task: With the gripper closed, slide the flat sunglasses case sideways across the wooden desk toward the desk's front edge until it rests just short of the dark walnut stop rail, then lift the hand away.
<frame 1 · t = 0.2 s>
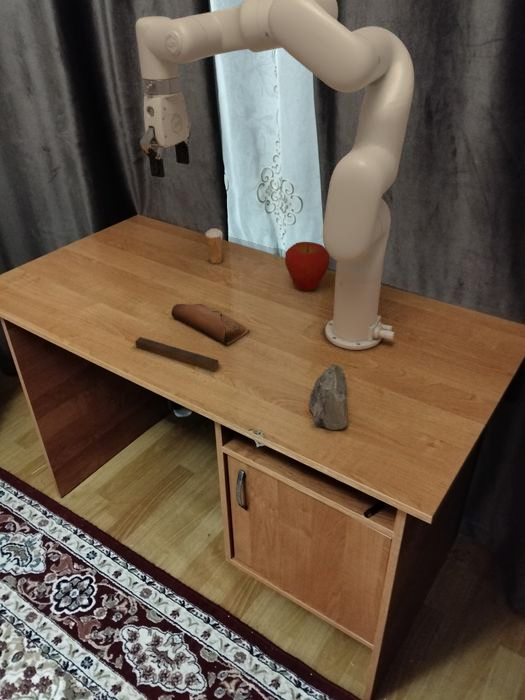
hand: (171, 169, 128), 31 cm above the table, tool pointing down, fingers open, 9 cm apart
beer glass: (214, 261, 159), on the table
apple: (306, 288, 146), on the table
stop rail: (176, 357, 123), on the table
mineral rock: (333, 408, 109), on the table
sunglasses case: (210, 326, 133), on the table
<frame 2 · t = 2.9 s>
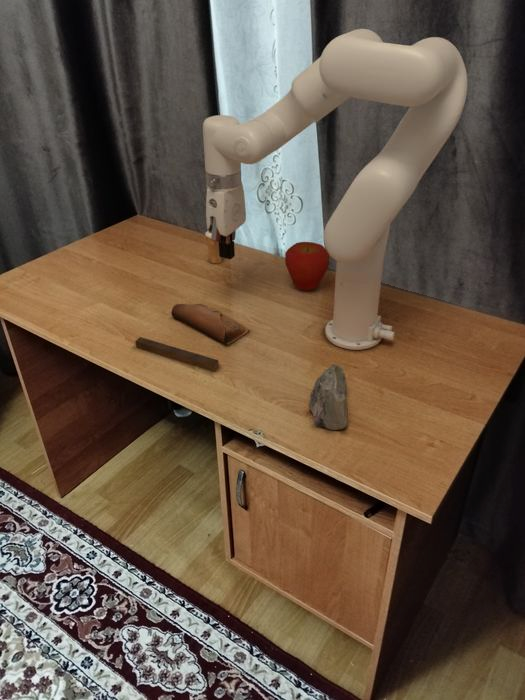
hand: (227, 256, 133), 13 cm above the table, tool pointing down, fingers closed
nothing on the table moved.
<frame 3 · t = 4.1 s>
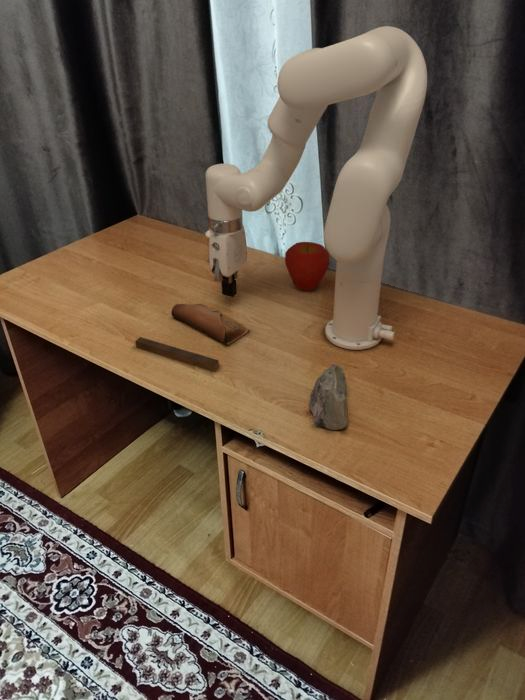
hand: (229, 294, 138), 3 cm above the table, tool pointing down, fingers closed
nothing on the table moved.
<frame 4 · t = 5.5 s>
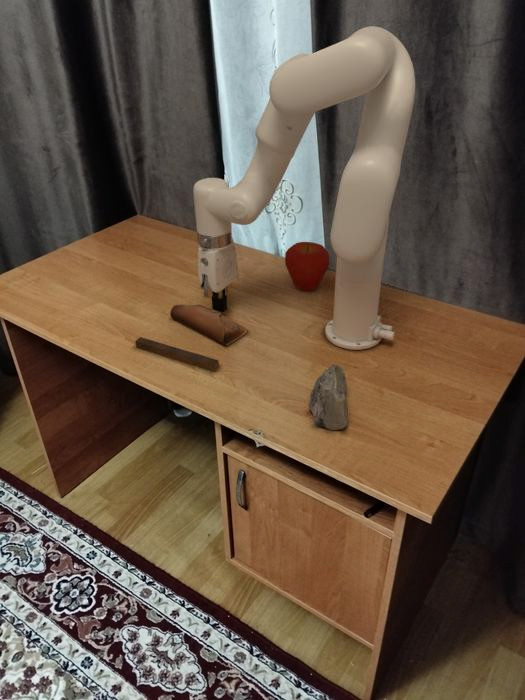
hand: (220, 309, 135), 2 cm above the table, tool pointing down, fingers closed
sunglasses case: (209, 326, 133), on the table, touching gripper
everything else where it was.
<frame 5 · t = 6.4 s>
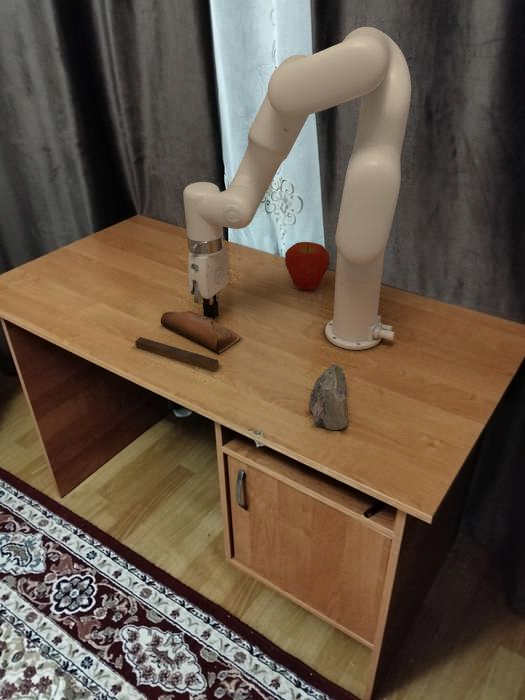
hand: (211, 315, 133), 2 cm above the table, tool pointing down, fingers closed
sunglasses case: (200, 333, 130), on the table, touching gripper
everything else where it was.
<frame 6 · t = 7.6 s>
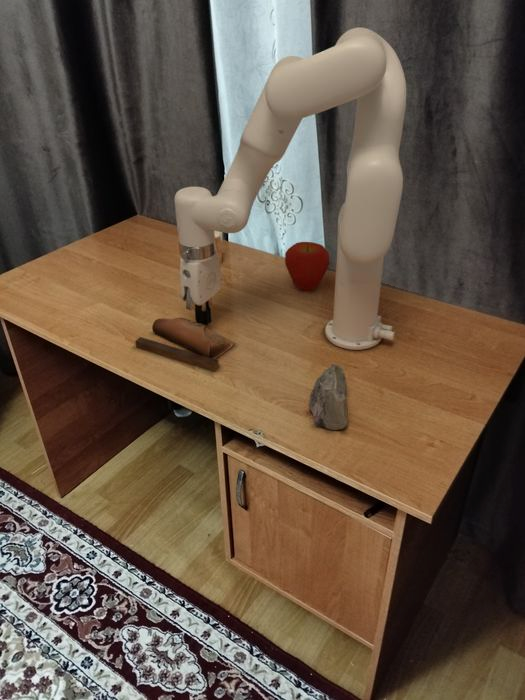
hand: (203, 322, 130), 2 cm above the table, tool pointing down, fingers closed
sunglasses case: (193, 340, 128), on the table, touching gripper
everything else where it was.
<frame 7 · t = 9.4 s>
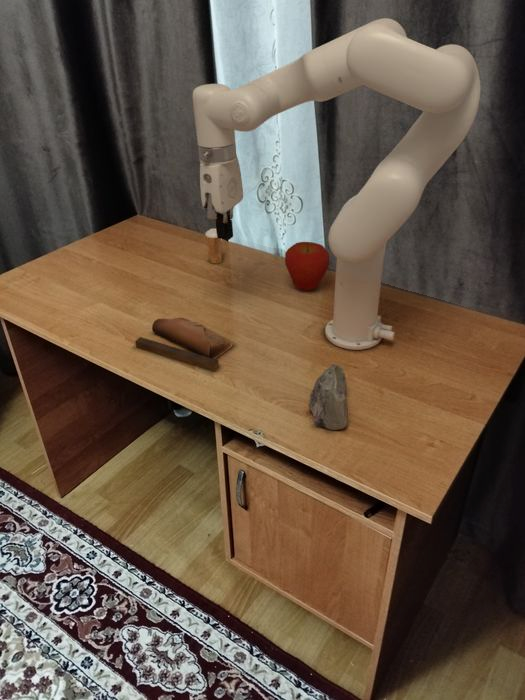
hand: (225, 237, 126), 19 cm above the table, tool pointing down, fingers closed
sunglasses case: (193, 340, 128), on the table
everything else where it was.
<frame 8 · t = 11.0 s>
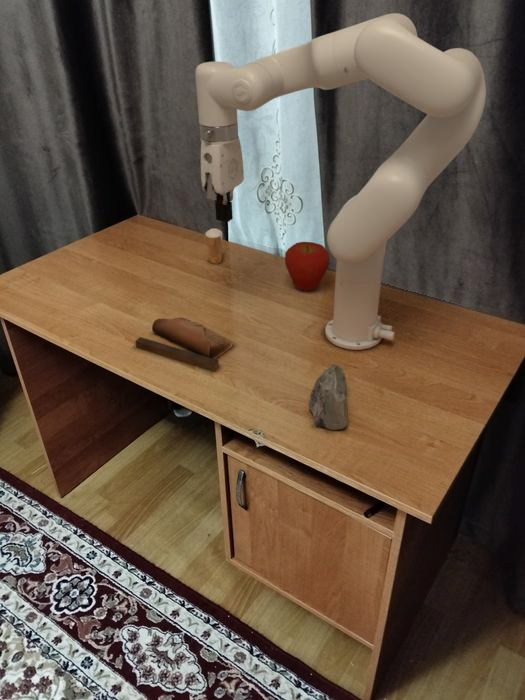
hand: (224, 219, 124), 23 cm above the table, tool pointing down, fingers closed
nothing on the table moved.
at the end: sunglasses case inside the target area (0.5 cm from its centre), on the table; sunglasses case tilted 2°; sunglasses case moved 6.8 cm from its start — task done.
